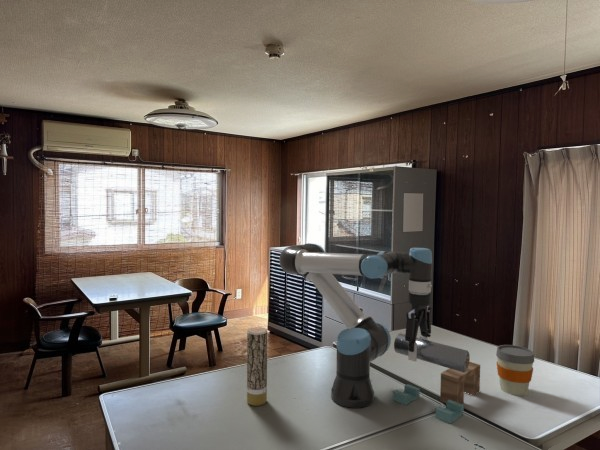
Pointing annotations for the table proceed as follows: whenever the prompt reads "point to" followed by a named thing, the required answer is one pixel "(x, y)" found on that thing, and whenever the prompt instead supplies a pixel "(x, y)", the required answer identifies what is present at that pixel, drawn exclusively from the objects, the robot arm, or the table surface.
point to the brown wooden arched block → (459, 383)
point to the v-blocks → (447, 414)
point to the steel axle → (435, 353)
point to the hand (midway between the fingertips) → (417, 357)
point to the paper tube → (256, 366)
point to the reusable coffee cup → (514, 368)
